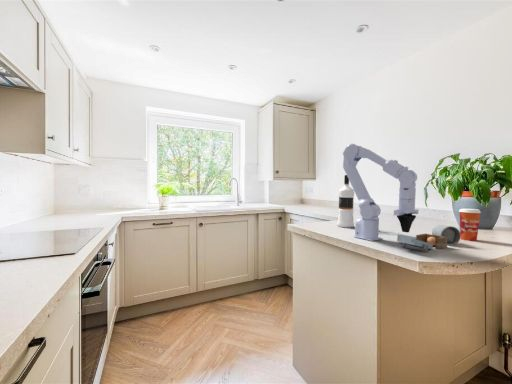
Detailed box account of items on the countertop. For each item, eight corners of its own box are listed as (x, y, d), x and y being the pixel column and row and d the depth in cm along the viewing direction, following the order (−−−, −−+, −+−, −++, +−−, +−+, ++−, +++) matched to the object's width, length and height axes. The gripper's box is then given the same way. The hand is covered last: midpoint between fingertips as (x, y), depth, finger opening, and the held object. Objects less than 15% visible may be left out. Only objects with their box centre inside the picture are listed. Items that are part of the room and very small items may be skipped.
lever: (382, 238, 97) (384, 231, 97) (402, 243, 104) (403, 236, 104) (414, 245, 87) (415, 237, 87) (433, 249, 94) (434, 242, 94)
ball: (430, 240, 102) (426, 246, 101) (427, 234, 101) (424, 240, 100) (440, 241, 99) (436, 248, 98) (437, 235, 98) (433, 242, 96)
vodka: (351, 228, 136) (353, 174, 135) (335, 226, 141) (336, 174, 140) (355, 226, 143) (357, 175, 142) (339, 224, 149) (340, 175, 148)
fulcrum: (402, 247, 96) (402, 240, 96) (404, 246, 97) (405, 240, 97) (425, 252, 89) (426, 245, 89) (428, 251, 90) (428, 244, 90)
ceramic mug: (447, 240, 109) (448, 223, 109) (461, 245, 101) (461, 226, 101) (422, 240, 110) (422, 223, 110) (433, 244, 102) (433, 226, 102)
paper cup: (460, 240, 110) (461, 209, 110) (455, 237, 117) (456, 207, 116) (482, 242, 106) (484, 210, 106) (477, 239, 113) (478, 208, 113)
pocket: (415, 244, 101) (416, 235, 101) (424, 242, 104) (425, 233, 104) (438, 249, 94) (438, 238, 94) (446, 247, 97) (447, 237, 97)
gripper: (407, 200, 94) (405, 235, 94) (426, 199, 101) (425, 232, 101) (389, 199, 100) (387, 232, 100) (409, 198, 107) (407, 229, 108)
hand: (405, 232), depth 101 cm, fingers closed
